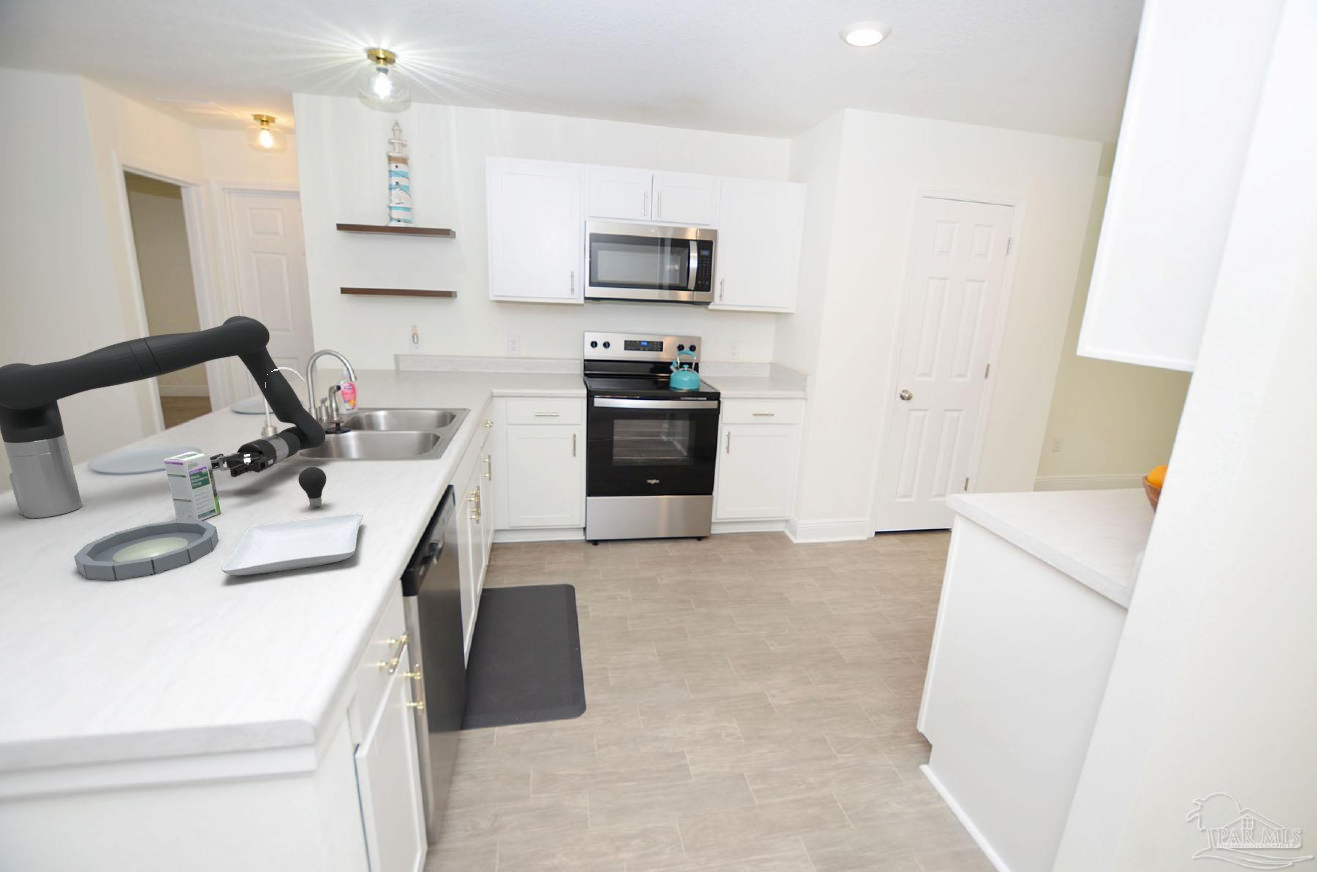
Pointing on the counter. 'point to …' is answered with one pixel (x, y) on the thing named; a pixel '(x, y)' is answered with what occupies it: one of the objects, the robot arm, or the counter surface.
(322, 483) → the light bulb
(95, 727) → the counter surface
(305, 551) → the salad plate
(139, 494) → the counter surface
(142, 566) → the round tray
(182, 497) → the syrup box
